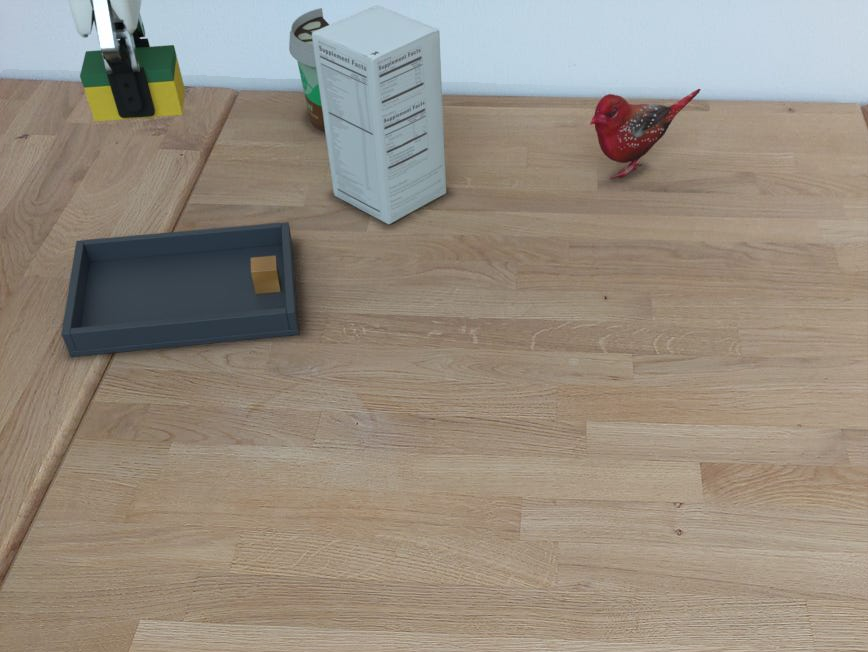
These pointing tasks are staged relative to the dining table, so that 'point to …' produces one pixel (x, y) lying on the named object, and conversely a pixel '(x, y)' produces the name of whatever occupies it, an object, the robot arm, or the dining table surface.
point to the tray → (177, 290)
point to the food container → (308, 61)
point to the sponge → (159, 76)
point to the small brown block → (265, 274)
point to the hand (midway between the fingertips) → (139, 98)
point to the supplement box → (382, 111)
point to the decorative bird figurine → (632, 127)
